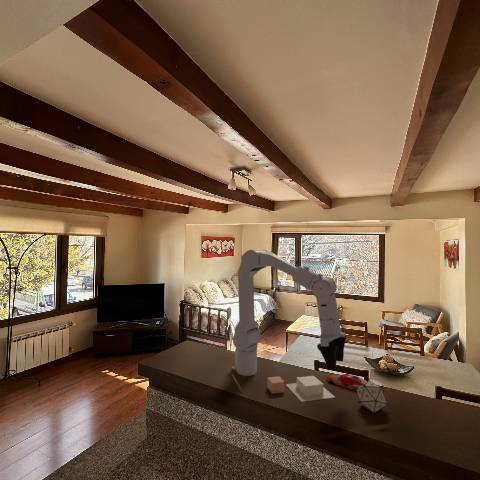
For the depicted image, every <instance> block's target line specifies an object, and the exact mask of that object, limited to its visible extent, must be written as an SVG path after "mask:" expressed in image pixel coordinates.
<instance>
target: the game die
mask: <svg viewBox="0 0 480 480" xmlns="http://www.w3.org/2000/svg"><path fill="white" fill-rule="evenodd" d="M366 381H367V382H366V383H364V384H363V385H361V386H360V387H358V388H355V387H354V389H355V390H354V389H353V390H354V391H356V393H357V397H358V401H357V404H361V406H363V408H365V409H367V410H369V411H370V412H371V413H372V414H376V413H377V412H378V411H380V410H381V409H383V408H385V406H388V407H391V404H390V403H388V402H387V399H386V396H385V393H384V392H385V389H383V388H384V385H383V384H382V385H379V384H376V383H375V382H373V381H371V379H370V377H369V376H367V380H366Z"/></svg>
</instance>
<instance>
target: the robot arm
mask: <svg viewBox="0 0 480 480" xmlns="http://www.w3.org/2000/svg"><path fill="white" fill-rule="evenodd" d="M240 259H241V261H240V265H239V268H238V270H237V282H238V283H237V284H238V285H237V286H238V289H237V290H238V320H239V321H238V322H237V324H236V325H235V327H234V333H233V337H232V343H233V346H234V347H235V350H234V366H231V369H232V371H236V373H237V374H238V375H240V376H245V377H248V376H254V375H256V374H257V371H258V370H257V368H258V367H257V365H258V345H259V343H260V342H261V339H262V335H261V331H260V328H259V323H258V322H257V321H256V319H255V293H254V287H255V286H254V285H255V284H254V283H255V282H254V277H255V275H256V274H258V272H259V271H261V270H264V269H265V268H266V267H272V268H275V269H277V270H278V271H280V272H283V273H285V274H287V275H288V276H291V278H292V281H293V282H294V283H295V284H297V285H299V286H301V287H302V288H305V289H307V290H308V291H310V292H311V293H312V294H313V295H314V297H315V300H316V307H317V314H318V321H319V326H320V328H319V329H320V339H319V343H318V344H317V345H316V348H317V349H318V350H319V352H320V353H321V356H322V357H323V358H322V359H323V360H324V363H325V366H326V368H327V370H329V371H336V369H337V362H344V354H345V344H346V341H347V335H346V332H342V327H341V323H340V317H339V310H338V303H337V299H336V292H337V289H338V286H337V283H336V281H335V280H333V279H332V278H331V277H330V276H324V274H322V273H317V272H315V271H314V270H311V269H310V267H309V266H308V265H305V266H304V265H300V266H296V265H293V264H292V263H291V262H289V261H287V260H286V259H284V258H282V257H280V256H279V255H277V254H275V253H274V252H271V251H269V250H266V249H255V250H254V249H248V250H247V251H245V252H244V253H243V254H242V255H241V256H240Z"/></svg>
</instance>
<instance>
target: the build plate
mask: <svg viewBox="0 0 480 480" xmlns="http://www.w3.org/2000/svg"><path fill="white" fill-rule="evenodd" d="M285 386H287V388H288V389H289V390H290V391H291V392H292V393H293V394H294V395H295V396H296V398H297V399H298V400H299V401H300V402H302V403H303V402H304V403H305V402H310V401H318V400H325V399H332V398H336V396H334V395H333V394H332V393H331V392H330V391H329V390H328V389H327V388H325V386H323V394H320V395H312V396H304V394H303V393H302V392H301V391H300V390H299V389H298V388H297V387H296V382H295V383H294V382H293V383H288V384H285Z"/></svg>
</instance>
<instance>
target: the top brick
mask: <svg viewBox="0 0 480 480" xmlns="http://www.w3.org/2000/svg"><path fill="white" fill-rule="evenodd" d="M266 381H267V384H266V385H267V386H266V387H267V389H268V390H269V392H270V393H271V394H279V393H285V380H284V379H282V378H281V376H280V375H277V376H270V377H269V376H268V377H267V380H266Z"/></svg>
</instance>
